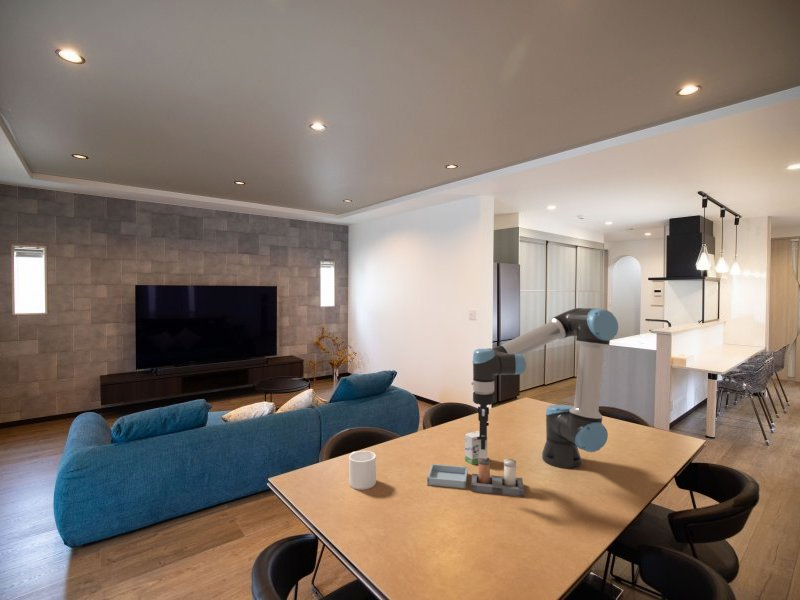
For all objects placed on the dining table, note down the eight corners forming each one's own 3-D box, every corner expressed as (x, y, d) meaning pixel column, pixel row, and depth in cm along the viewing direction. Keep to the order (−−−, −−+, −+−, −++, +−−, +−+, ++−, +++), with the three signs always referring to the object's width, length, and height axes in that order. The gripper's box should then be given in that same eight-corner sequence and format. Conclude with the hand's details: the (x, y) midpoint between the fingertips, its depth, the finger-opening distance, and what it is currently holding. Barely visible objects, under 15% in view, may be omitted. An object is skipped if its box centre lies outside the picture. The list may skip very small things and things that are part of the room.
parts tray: (467, 474, 149) (467, 467, 149) (465, 489, 137) (465, 481, 137) (431, 471, 152) (431, 464, 152) (427, 486, 141) (427, 477, 141)
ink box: (472, 466, 157) (472, 437, 157) (464, 461, 161) (464, 433, 161) (488, 461, 161) (487, 433, 161) (480, 457, 165) (479, 430, 165)
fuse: (515, 486, 139) (515, 459, 138) (516, 492, 134) (516, 464, 134) (503, 485, 139) (503, 458, 139) (504, 491, 135) (504, 463, 135)
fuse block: (522, 485, 140) (522, 478, 140) (524, 497, 132) (524, 490, 132) (472, 480, 144) (472, 473, 144) (471, 492, 136) (471, 484, 136)
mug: (381, 484, 142) (380, 457, 142) (357, 493, 136) (357, 464, 136) (363, 472, 152) (363, 446, 152) (341, 479, 146) (340, 452, 146)
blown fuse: (490, 484, 141) (490, 457, 140) (490, 489, 136) (490, 462, 136) (478, 483, 141) (478, 456, 141) (478, 488, 137) (478, 461, 137)
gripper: (474, 384, 152) (473, 437, 152) (471, 400, 127) (471, 463, 128) (493, 385, 150) (493, 439, 150) (494, 401, 126) (494, 465, 126)
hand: (483, 450), depth 139 cm, fingers open, 13 cm apart
